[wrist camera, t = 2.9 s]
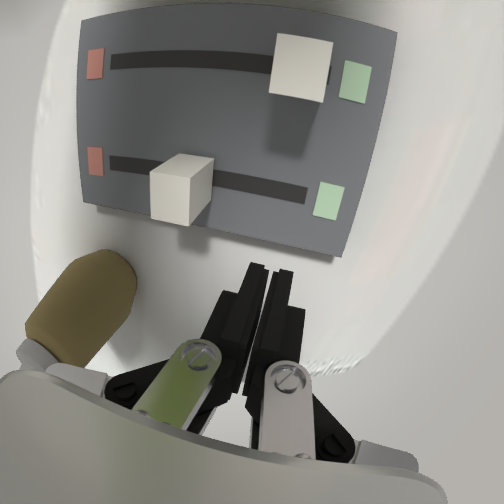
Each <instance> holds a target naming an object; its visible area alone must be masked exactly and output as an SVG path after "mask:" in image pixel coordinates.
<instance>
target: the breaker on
mask: <svg viewBox="0 0 504 504" xmlns="http://www.w3.org/2000/svg"><path fill="white" fill-rule="evenodd" d="M332 48H333V42H328V41H324V40H318V39H313V38H308V37H302V36H295V35H289V34H281V33H277V40H276V46H275V53H274V60H273V66H272V73H271V80H270V87H269V93H274V94H281V95H286V96H292V97H298V98H303V99H308V100H313V101H317V102H322V103H323V99H324V94H325V88H326V83H327V77H328V71H329V66H330V60H331V54H332Z"/></svg>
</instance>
